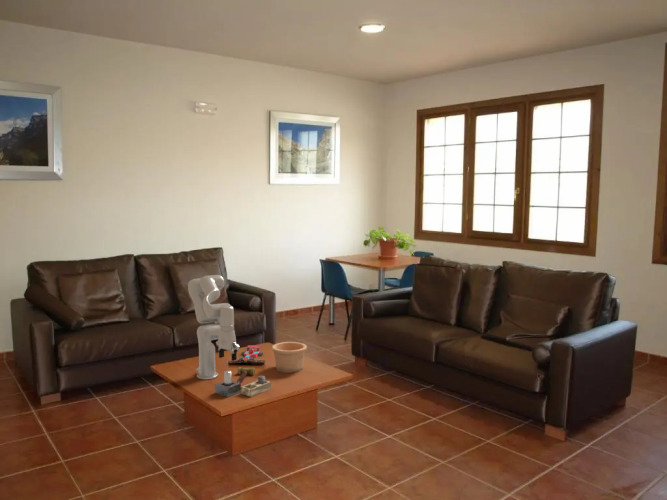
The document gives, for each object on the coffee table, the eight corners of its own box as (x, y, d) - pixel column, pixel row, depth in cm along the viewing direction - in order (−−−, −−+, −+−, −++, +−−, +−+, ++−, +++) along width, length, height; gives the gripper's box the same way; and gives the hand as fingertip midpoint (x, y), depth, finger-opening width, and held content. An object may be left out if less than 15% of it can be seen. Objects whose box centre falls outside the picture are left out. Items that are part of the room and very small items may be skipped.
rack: (240, 393, 318) (240, 381, 317) (260, 385, 330) (260, 374, 330) (251, 396, 313) (251, 384, 312) (271, 388, 326) (271, 376, 325)
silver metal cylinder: (222, 392, 319) (222, 372, 317) (228, 390, 322) (227, 370, 321) (227, 394, 316) (227, 373, 315) (233, 392, 320) (232, 371, 318)
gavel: (246, 380, 331) (229, 379, 332) (246, 387, 332) (229, 386, 333) (255, 366, 352) (239, 365, 353) (255, 373, 352) (239, 373, 354)
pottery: (265, 368, 363) (264, 345, 361) (292, 361, 377) (292, 339, 376) (285, 376, 347) (285, 353, 345) (313, 369, 361) (313, 346, 360)
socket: (215, 393, 318) (214, 384, 318) (228, 388, 326) (228, 379, 326) (227, 397, 312) (227, 388, 312) (240, 392, 320) (240, 383, 320)
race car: (232, 355, 370) (243, 344, 395) (232, 364, 371) (243, 353, 396) (253, 356, 368) (263, 346, 393) (253, 365, 369) (263, 354, 394)
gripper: (211, 327, 317) (211, 357, 319) (233, 331, 307) (234, 363, 309) (221, 325, 323) (221, 354, 325) (243, 329, 313) (243, 359, 315)
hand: (227, 358), depth 317 cm, fingers open, 9 cm apart
